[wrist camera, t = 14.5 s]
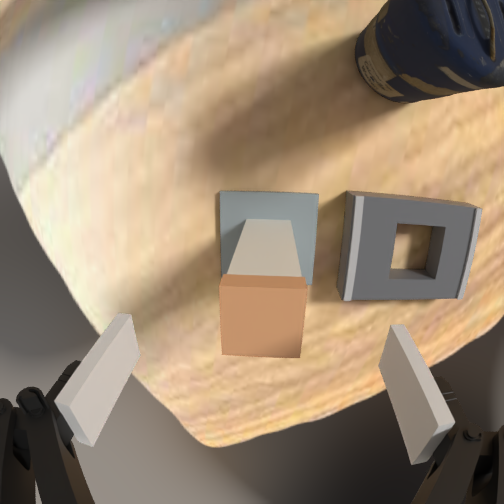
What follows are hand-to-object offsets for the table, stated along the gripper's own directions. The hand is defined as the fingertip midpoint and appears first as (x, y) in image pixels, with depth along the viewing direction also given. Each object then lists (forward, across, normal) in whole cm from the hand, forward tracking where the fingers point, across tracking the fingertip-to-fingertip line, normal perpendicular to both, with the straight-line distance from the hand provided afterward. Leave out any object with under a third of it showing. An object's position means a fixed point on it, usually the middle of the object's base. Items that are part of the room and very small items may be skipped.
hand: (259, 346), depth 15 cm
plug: (+19, 0, -1) cm, 19 cm away
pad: (+19, 0, -1) cm, 19 cm away
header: (+19, +16, -1) cm, 25 cm away
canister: (+20, +13, +19) cm, 31 cm away
